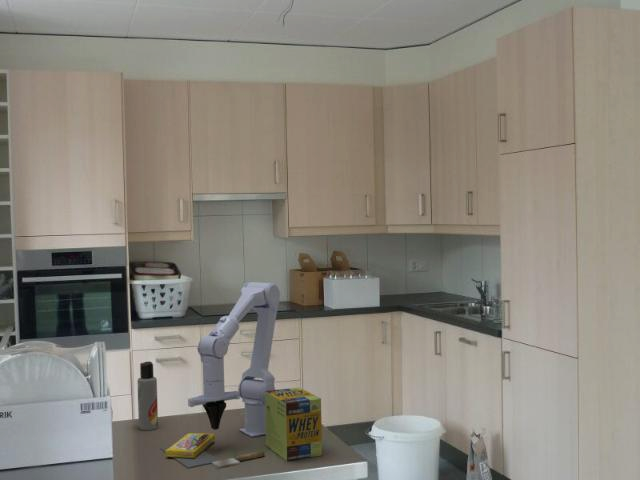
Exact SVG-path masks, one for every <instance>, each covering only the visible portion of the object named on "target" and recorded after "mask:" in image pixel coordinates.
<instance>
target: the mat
mask: <svg viewBox="0 0 640 480" xmlns="http://www.w3.org/2000/svg"><path fill="white" fill-rule="evenodd" d="M173 445H174V444H170V445H165V446H160V447H159V450H161V451H163V452H164V453H165V454H166V452H165V451H166V450H167V449H169V448H170V447H171V446H173ZM171 458H173V459H174V460H175V461H176V462H178V463H180V464H181V465H183V467H185V468H187V469H192V468H196V467H201V466H206V465H211V464H212V462H216V461H220V459H218V458H217V457H216V456H213V454H210V453H208V452H207V451H205V449H204V450H203V451H202V452H201V453H199V454H198V455H197V456H196V457H195V458H182V457H171ZM212 465H213V464H212Z"/></svg>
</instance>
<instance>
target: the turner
mask: <svg viewBox="0 0 640 480" xmlns="http://www.w3.org/2000/svg"><path fill="white" fill-rule="evenodd" d="M261 457H265V451H264V450H261V451H260V450H259V451H255V452H252V453H246V454H245V453H244V454H241V455H237V456H235V457H231V458H227V459H226V458H225V459H221V460H220V459H219V460H220V461H216V462H212V465H213V466H214V467H216V468H217V469H221V468H222V469H223V468H227V467H231V466H232V467H233V466H236V465H240V464H241V462H242V461H247V460H252V459H256V458H261Z"/></svg>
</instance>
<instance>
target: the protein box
mask: <svg viewBox="0 0 640 480" xmlns="http://www.w3.org/2000/svg"><path fill="white" fill-rule="evenodd" d="M265 422H266V434H265V445H266V446H265V447H268V448H269V449H270V450H271V451H273V452H274V453H276V455H278V456H280V457H281V458H282V459H284V461H286V462H290V461H296V460H300V459H307V458H312V457H313V458H314V457H319V456H320V457H321V456H323V444H322V442H323V441H322V435H323V434H322V432H323V431H322V429H323V428H322V427H323V426H322V398H321V397H319V396H318V395H315V394H313V393H311V392H310V391H307V390H305V389H304V388H301V387H291V388H290V387H289V388H280V389H279V388H278V389H275V390H269V391H265Z"/></svg>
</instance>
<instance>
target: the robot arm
mask: <svg viewBox="0 0 640 480" xmlns="http://www.w3.org/2000/svg"><path fill="white" fill-rule="evenodd" d="M280 297H281V291H280V289H279V287H278V285H277V284H276V282H257V281H254V282H253V281H246V282H245V283H244V285H243V286H242V288H241V289H240V297H239V299H238V300H237V302H236V303H235V305H234V306H233V308H232V310H230V313H229V315H224V316H222V317H220V318H219V321H218V322H217V324H216V325H215V326H214V327H213V329H211V331H210V332H209V333H208V334H207V335H204V336H203V337H201V338H200V340H199V342H198V346H197V347H196V349H197V353H198V354H199V355H200V357H199V358H200V362H201V363H202V383H203V384H202V387H203V389H202V390H203V395H199V396H198V395H197V396H194V397H190V398H187V405H188V407H190V408H194V407H195V406H202V408H203V409H204V411H205V412H206V414H207V417H208V420H209V423H210V427H211V429H212V430H214V431H215V430H219V429H220V424H221V420H222V416H223V415H224V412H225V409H226V408H227V401H232V400H240V399H242V403H244V427H243V428H239V431H240V432H241V433H244V434H245V435H247V436H249V437H252V438H253V437H258V436H263V435H266V422H265V391H269V390H276V388H275V379H276V378H275V375H273V374H272V373H271V372H270V371H269V368H270V367H269V365H270V359H271V352H272V348H273V347H272V345H273V339H274V334H275V333H274V332H275V327H276V326H275V325H276V320H277V319H276V318H277V313H278V311H279V305H280V299H281V298H280ZM251 309H253V310H254V311H255V312H256V314H257V321H256V326H255V327H256V328H255V335H254V339H253V340H254V341H253V348H252V353H251V359H250V360H251V361H250V365H249V368H247V369H246V370H245V371H244V372H243V373H242V376H241V379H240V382H239V383H238V387H237V390H234V391H233V390H232V391H225V369H224V368H225V365H224V364H225V363H224V362H225V360H224V359H225V358H224V357H225V356H226V355H227V354H228V350H229V346H230V343H231V342H230V341H232V339H233V338H234V336H235V335H236V333H237V332H238V331H239V329H240V325H239V324H240V322H241V320H242V319H243V318H244V317H245V316H246V315H247V314H248V313H249V311H251Z"/></svg>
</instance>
